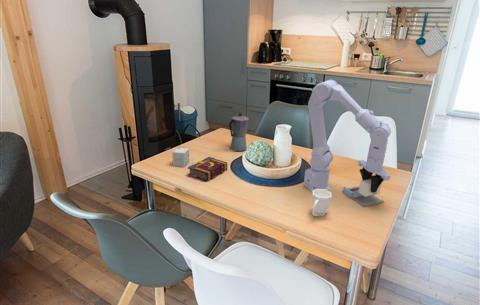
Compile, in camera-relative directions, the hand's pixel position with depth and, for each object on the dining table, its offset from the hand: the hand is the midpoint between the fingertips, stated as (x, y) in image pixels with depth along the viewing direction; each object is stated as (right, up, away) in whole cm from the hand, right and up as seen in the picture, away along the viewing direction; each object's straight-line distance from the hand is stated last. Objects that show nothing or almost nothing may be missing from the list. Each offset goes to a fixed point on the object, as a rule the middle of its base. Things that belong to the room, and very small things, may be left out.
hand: (369, 189), depth 123 cm
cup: (-21, -8, -7) cm, 24 cm away
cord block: (0, -1, +1) cm, 2 cm away
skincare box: (-78, +8, +33) cm, 85 cm away
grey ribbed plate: (-1, -4, +4) cm, 6 cm away
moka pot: (-51, +16, +52) cm, 74 cm away
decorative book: (-64, +4, +24) cm, 69 cm away
